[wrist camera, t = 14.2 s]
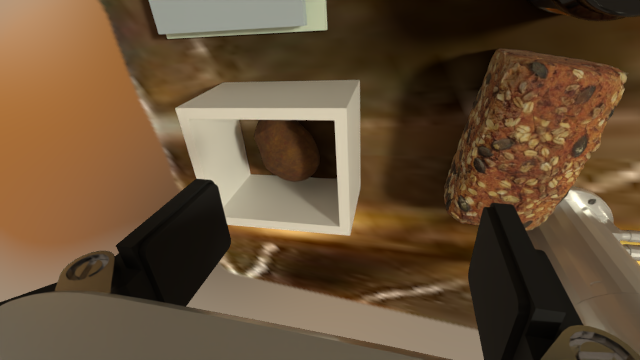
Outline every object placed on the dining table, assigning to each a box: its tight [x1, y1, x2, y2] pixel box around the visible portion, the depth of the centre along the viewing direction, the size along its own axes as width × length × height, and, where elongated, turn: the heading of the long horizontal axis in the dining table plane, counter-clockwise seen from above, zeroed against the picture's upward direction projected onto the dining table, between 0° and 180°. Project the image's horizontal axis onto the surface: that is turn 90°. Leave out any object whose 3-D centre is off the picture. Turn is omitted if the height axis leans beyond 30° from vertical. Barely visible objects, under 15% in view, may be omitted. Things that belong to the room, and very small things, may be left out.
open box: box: [175, 80, 360, 236], centre depth 40 cm, size 18×15×11 cm
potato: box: [254, 120, 320, 182], centre depth 42 cm, size 7×10×8 cm
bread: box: [444, 49, 628, 231], centre depth 34 cm, size 19×11×10 cm, turn 173°
